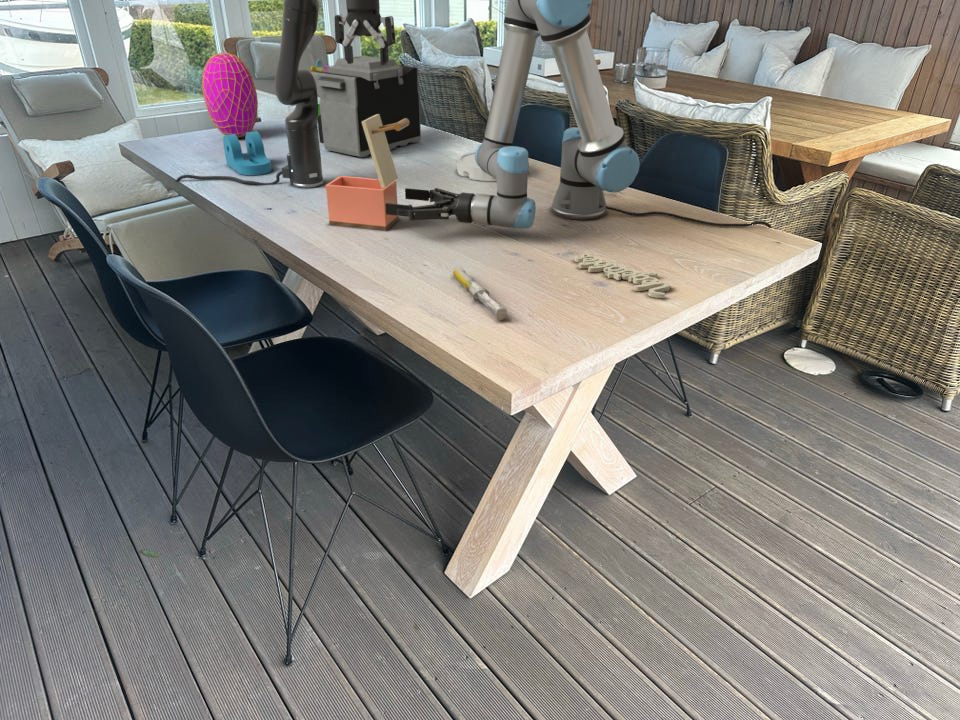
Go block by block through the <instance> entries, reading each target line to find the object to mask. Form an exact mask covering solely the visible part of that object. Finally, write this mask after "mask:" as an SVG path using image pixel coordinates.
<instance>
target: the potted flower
mask: <svg viewBox="0 0 960 720" xmlns="http://www.w3.org/2000/svg"><path fill="white" fill-rule="evenodd" d="M331 66H332V65H327V64H326V65H324V64H323V60H322V59H320V58H318V59H317V60H316V61H315V65H312V66H311V67H310V70H309V71H310V72H313V71H321V72H328V73H329V67H331ZM317 96H318V94H317ZM318 98H319V96H318ZM319 115H321V111H320V103H318V116H319ZM317 122H318V120H317Z"/></svg>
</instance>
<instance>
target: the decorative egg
mask: <svg viewBox="0 0 960 720" xmlns="http://www.w3.org/2000/svg"><path fill="white" fill-rule="evenodd" d="M201 79H202V80H201V81H202V85H201V86H202V87H201V88H202V89H201V90H202V96H203V101H204V103H205V107H206V110H207V113H208V115H209V118H210V120H211V122H212V123H213V125H214V126H215V127H216V129H217V130H218V131H219V133H221V135H223V136H224V135H230V134H235V135H236V136H237V138H238V139H241V138H244V137H246V133H247V132H253V129H254V127H255V125H256V122H257V118H258V109H259V106H258V105H259V101H258V93H257V89H256V86H255V83H254V79H253V76H252V73H251V72H250V69H249V68H248V67H247V65H246V64H245V62H244V61H243V60H242V59H241V58H240V57H239V56H238V55H235V54H232V53H230V52H219V53H216V54H213V55H211V56H210V57H209V59H207V61H206V63H205V66H204V68H203V72H202V78H201Z"/></svg>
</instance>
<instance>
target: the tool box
mask: <svg viewBox="0 0 960 720" xmlns="http://www.w3.org/2000/svg"><path fill="white" fill-rule="evenodd" d="M353 60H354V62H353V63H352V64H348V63H347V61H346V60H345V57H343V58H342V57H341V58H337V59H336V60H335V63H334V64H333V65H330V66H331V67H329V72H321V71H313V72H311V73H312V75H313V76H314V79H315V82H316V86H317V94H318V96H319V97H318V98H319V104H320V111H321V115H319V116H318V121H317V127H318V137H319V144H323V146H324V149H325V150H327V151H330V152H335V153H340V154H344V155H348V156H353V157H357V158H362V159H363V158H366V157H367V158H368V157H369V155H371V152H370V149H369V145H368V142H367V139H366V135H365V132H364V129H363V125H362V121H364V120H366V119H368V118H370V117H372V116H374V115H376V114H379V115H380V118H381V121H382V125H383V126H384V125H389V124H393V123H397V122H399V121H401V120H402V119H404V118H407V119H408V120H409V122H410V123H409V125H408V126H406V127H405V128H403V129H401V130H400V131H396V130H395V129H393V130H388V131H384V132H385V135H386V139H387V142H388V145H389V149H390V151H391V150H395V149H396V148H397V147H405V146H407V145H408V144H416V143H418V142H419V141H421V137H422V128H421V97H420V92H419V91H420V89H419V68H418V67H417V66H408V65H400V64H396V62H395V60H394V59H393V58H389V60H388V62H387V64H386V65H381V61H380V57H377V56H367V55H356V56H353Z"/></svg>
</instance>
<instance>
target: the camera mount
mask: <svg viewBox="0 0 960 720" xmlns="http://www.w3.org/2000/svg"><path fill="white" fill-rule="evenodd" d="M244 137H245V146H246V152H243V151H242V150H243V149H242V146H241V142H240V140H239V138H237V136H236V135H235V134H230V135H224V134H223V138H222V140H223V141H222V143H223V149H224V150H223V151H224V156H225V161H226V165H227V166H228V167H230V168H231V169H232V170H234V171H236V172H237V173H238V174H239V175H244V176H260V175H265V174H268V173H271V172H272V164H271V159H270V158H268V157H267V156H266V153H265V145H264V141H263V139H262V136H261V134H260V132H258V131H251V132H247V133H246V136H244Z"/></svg>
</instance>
